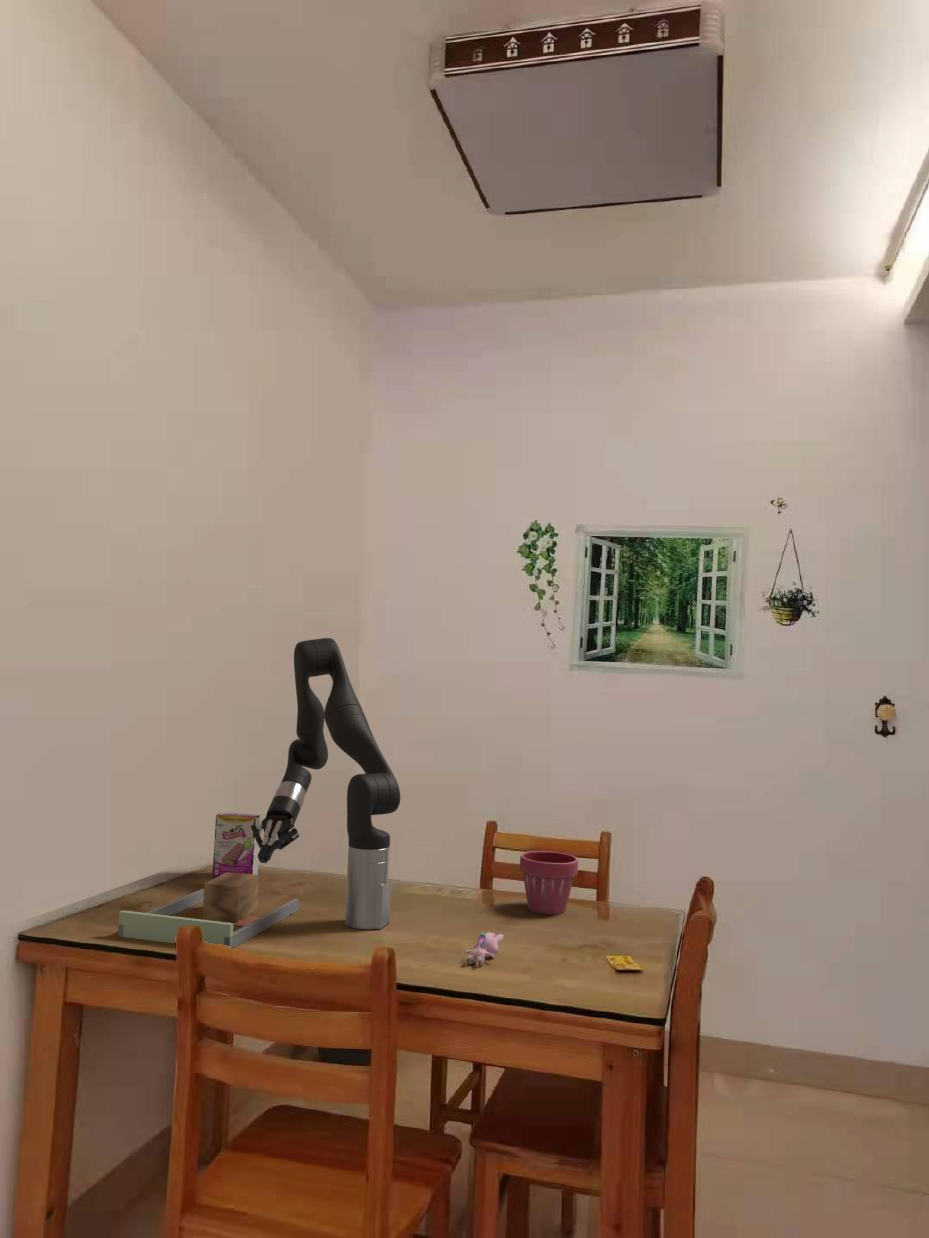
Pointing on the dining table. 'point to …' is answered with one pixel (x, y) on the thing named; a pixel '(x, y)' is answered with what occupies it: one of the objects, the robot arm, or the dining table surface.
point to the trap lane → (196, 923)
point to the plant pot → (548, 880)
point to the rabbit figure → (483, 949)
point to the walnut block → (230, 897)
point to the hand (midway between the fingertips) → (262, 861)
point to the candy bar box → (235, 844)
